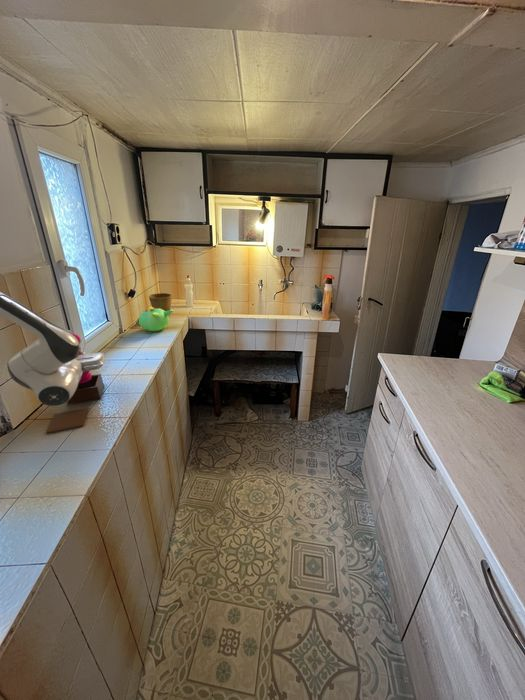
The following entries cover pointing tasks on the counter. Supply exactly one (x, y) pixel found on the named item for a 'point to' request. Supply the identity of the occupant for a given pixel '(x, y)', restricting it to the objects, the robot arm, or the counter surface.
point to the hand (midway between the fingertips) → (75, 354)
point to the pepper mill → (86, 374)
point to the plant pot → (161, 301)
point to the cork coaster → (68, 420)
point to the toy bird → (154, 319)
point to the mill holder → (88, 390)
